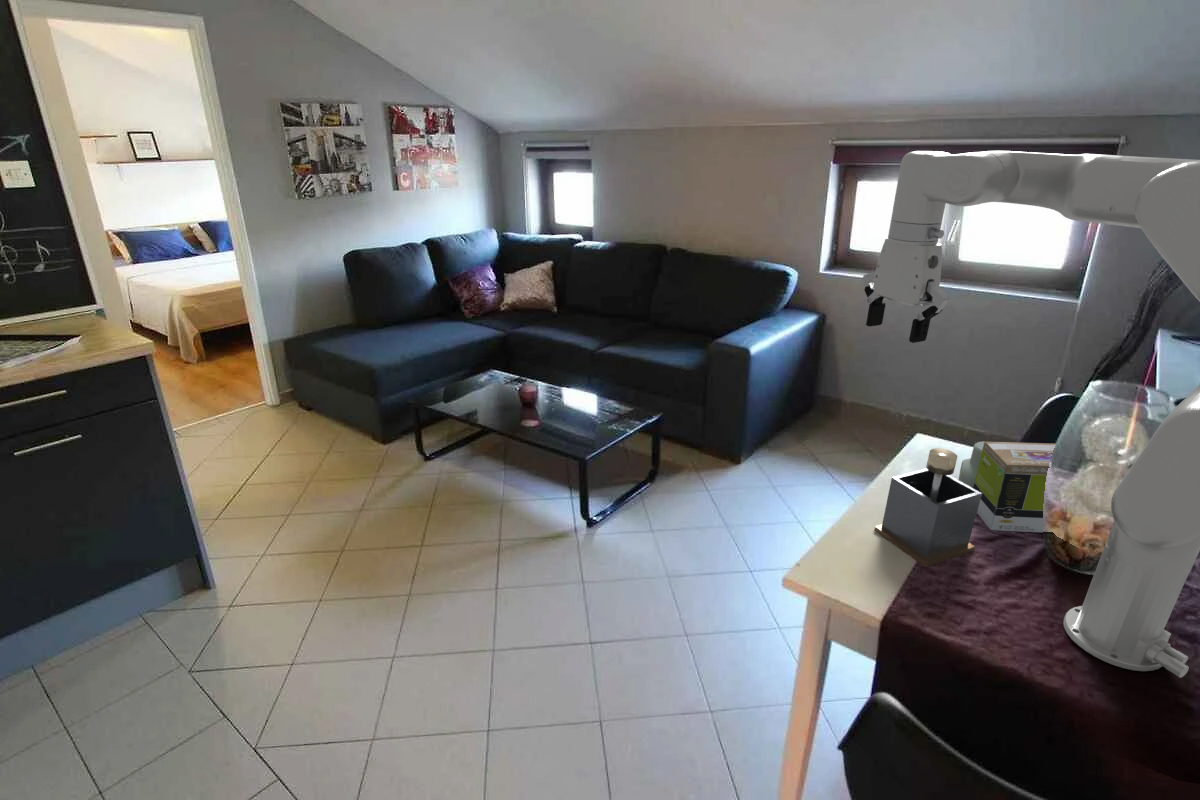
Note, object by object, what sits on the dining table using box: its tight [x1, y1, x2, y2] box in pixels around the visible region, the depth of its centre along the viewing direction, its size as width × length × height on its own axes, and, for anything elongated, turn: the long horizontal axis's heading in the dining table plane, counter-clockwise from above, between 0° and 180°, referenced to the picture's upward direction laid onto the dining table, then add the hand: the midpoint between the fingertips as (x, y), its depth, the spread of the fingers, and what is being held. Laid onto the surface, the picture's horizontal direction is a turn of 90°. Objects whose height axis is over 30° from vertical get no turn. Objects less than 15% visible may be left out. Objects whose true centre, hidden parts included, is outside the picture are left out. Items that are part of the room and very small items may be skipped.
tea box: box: [973, 441, 1057, 533], centre depth 126 cm, size 15×10×15 cm, turn 84°
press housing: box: [873, 468, 982, 568], centre depth 120 cm, size 12×12×12 cm
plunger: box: [925, 447, 958, 501], centre depth 118 cm, size 8×8×17 cm
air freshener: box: [958, 441, 985, 488], centre depth 137 cm, size 11×8×10 cm
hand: (894, 333), depth 113 cm, fingers open, 9 cm apart
